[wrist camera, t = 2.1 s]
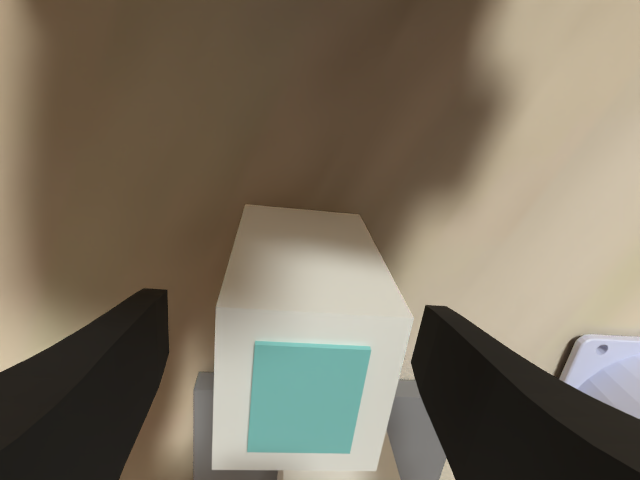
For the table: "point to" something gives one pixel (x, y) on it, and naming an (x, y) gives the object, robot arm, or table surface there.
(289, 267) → the block
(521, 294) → the table surface
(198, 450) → the board
